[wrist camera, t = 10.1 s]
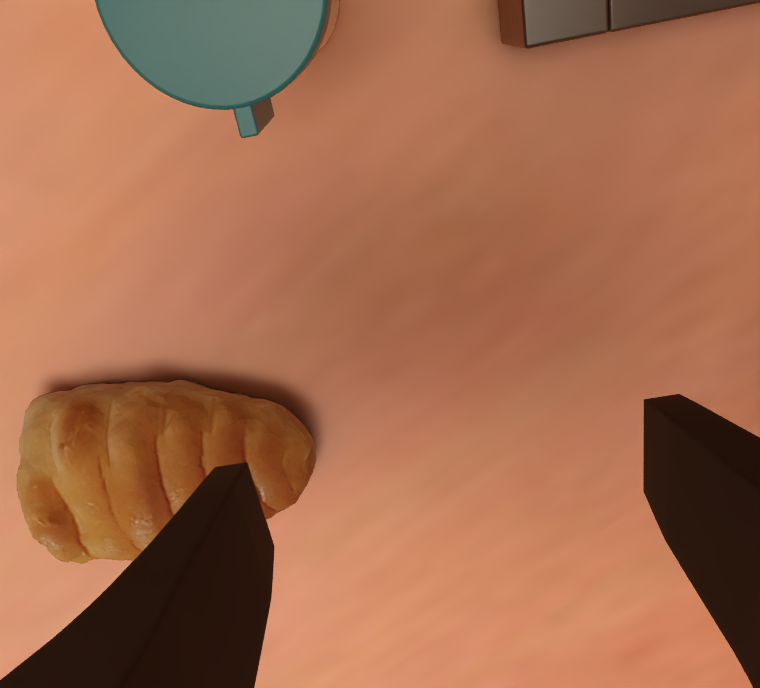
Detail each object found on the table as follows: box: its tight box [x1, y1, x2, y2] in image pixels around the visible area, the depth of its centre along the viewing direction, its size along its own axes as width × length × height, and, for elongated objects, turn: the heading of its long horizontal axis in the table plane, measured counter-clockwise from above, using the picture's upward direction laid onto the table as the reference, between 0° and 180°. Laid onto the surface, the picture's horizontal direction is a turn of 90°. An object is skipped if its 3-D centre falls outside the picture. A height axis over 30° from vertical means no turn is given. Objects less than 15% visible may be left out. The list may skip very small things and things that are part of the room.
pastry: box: [17, 380, 316, 563], centre depth 22 cm, size 9×7×4 cm
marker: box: [95, 0, 339, 138], centre depth 14 cm, size 3×4×9 cm
